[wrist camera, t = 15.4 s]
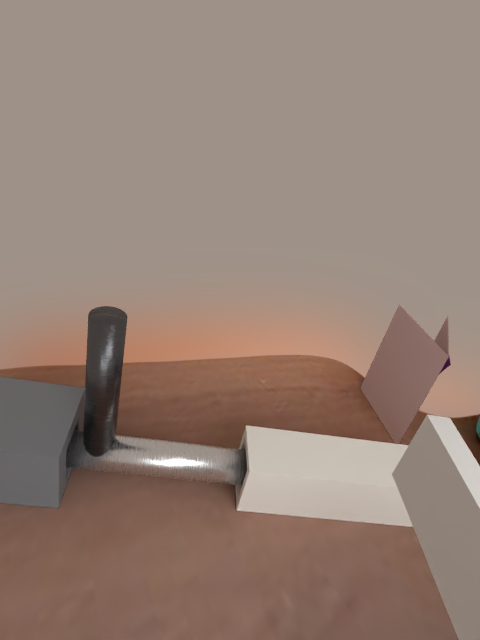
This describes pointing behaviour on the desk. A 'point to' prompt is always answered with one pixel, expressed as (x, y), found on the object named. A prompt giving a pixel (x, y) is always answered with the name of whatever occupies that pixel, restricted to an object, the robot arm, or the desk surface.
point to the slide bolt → (127, 451)
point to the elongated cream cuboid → (321, 477)
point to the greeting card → (404, 372)
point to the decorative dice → (478, 427)
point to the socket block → (36, 440)
